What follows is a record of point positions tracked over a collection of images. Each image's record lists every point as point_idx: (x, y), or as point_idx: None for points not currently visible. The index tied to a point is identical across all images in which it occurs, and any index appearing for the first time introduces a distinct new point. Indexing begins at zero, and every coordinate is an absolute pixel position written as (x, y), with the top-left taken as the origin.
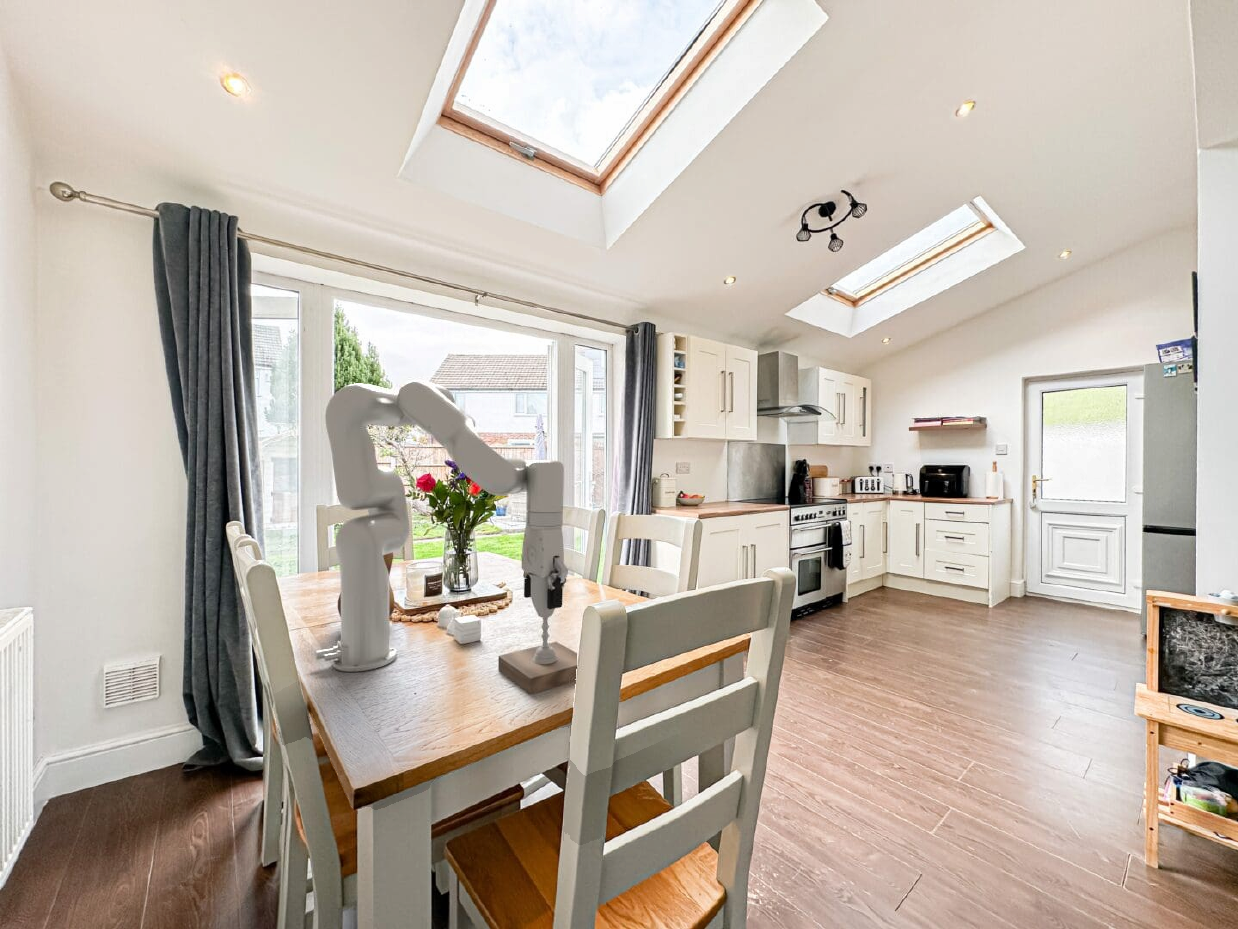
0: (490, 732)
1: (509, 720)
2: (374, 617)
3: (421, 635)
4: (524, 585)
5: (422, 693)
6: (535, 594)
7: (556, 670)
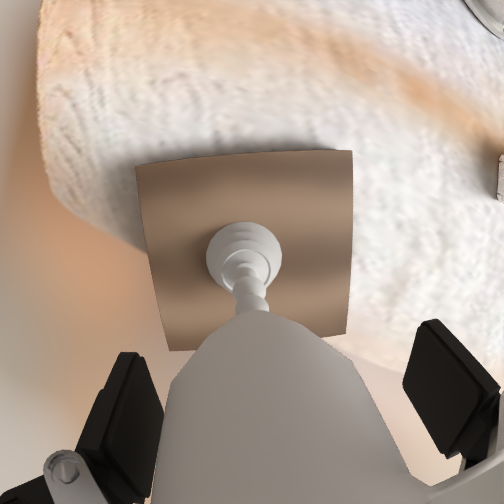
0: (52, 50)
1: (67, 88)
2: None
3: None
4: (472, 360)
5: None
6: (215, 370)
7: (149, 252)
